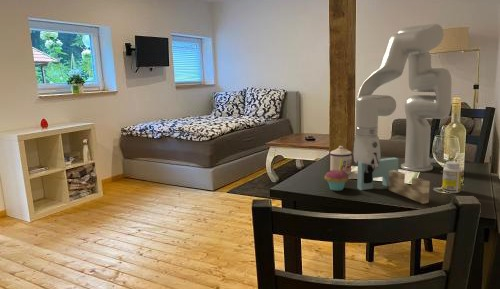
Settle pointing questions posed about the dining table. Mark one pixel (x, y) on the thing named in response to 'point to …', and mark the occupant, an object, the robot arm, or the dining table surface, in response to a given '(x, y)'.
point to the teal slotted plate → (377, 172)
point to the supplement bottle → (451, 177)
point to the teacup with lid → (336, 158)
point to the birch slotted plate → (409, 187)
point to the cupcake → (337, 178)
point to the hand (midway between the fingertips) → (365, 181)
